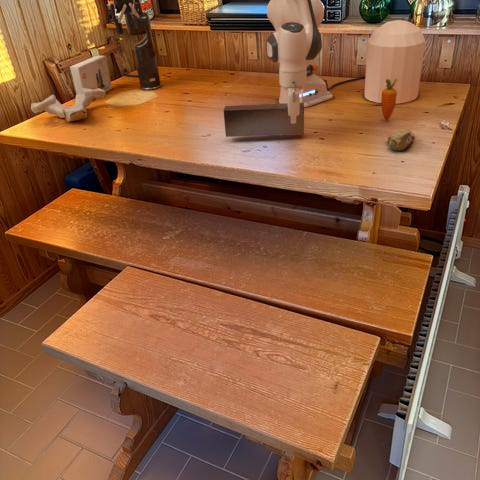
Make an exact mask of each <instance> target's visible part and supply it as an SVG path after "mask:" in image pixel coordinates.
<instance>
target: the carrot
mask: <svg viewBox="0 0 480 480" xmlns="http://www.w3.org/2000/svg"><path fill="white" fill-rule="evenodd" d="M396 81H397V79H395V80H394V82H393V84H391V82H390V79H386V83H387V85H386V87H387V88H386V89H384V90H383V91H382V98H381V103H380V104H381V112H382V113H381V114H382V117H383V119H384V120H385V121H386V122H388V121H389V119H390V118H391V117H392V114H393V112H394V109H395V106H396V104H395V102H396V95H397V91H396V90H395V89H394V88H393V86H394V84H395V83H396ZM389 85H390V86H389ZM391 85H392V86H391Z"/></svg>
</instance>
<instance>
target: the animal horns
mask: <svg viewBox="0 0 480 480" xmlns="http://www.w3.org/2000/svg"><path fill="white" fill-rule="evenodd" d="M81 91H82V94H79V95H77V94H76V95H75V103H74V104H73V105H69V106H65V105H63V104H62V103H61V102H60V101H59V100H58V99H57V98H56V97H57V96H56V95H55V94H51V95H49V96H48V97H47V98H45V99H43V100H42V101H39V102H31V105H30V110H31V112H32V113H34V114H37V113H42V112H43V111H44V112H47V113H48V114H50V115H56V116H58V117H59V118H60V119H63V118H64V119H65V120H66V121H67V122H68V123H70V122H76V121H80V120H83V119H86V118H87V117H88V112H87V108H88V107H89V106H90V105H91V103H92V101H93V100H95V99H103V98H105V97H106V95H107V92H105V90H102V89H99V88H98V89H95V90H94V89H87V88H82V90H81Z"/></svg>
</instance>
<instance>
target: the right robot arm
mask: <svg viewBox="0 0 480 480" xmlns="http://www.w3.org/2000/svg"><path fill="white" fill-rule="evenodd" d="M324 16H325V8H324V4H323V3H322V2H321V1H320V0H269V2H268V4H267V6H266V17H267V19H268V20H269V21H268V22H270V23H271V25H272V26H273V29H274V30H275V32H271V33H270V34H269V35H268V37H267V39H266V40H265V53H266V57H267V58H268V59H269V60H270V61H271V62H272V63H274V64H279V67H278V74H279V75H278V83H279V86H280V93H279V98H278V100H277V101H278V104H284V103H288V115H289V116H291V124H295V123H296V116H298V115H299V114H300V103H304V108H308V107H311V106H314V105H317V104H320V103H323V102H325V101H328V100H331V99H333V97H334V96H333V94H332V93H331V92H330V90H332V89H333V88H334V87H336V86H338V85H341V84H344V83H349V82H352V81H353V82H354V81H358V80H362V79H363V80H364V79H365V76H360V77H356V78H351V79H347V80H342V81H339V82H336V83H334V84H332V85H331V86H330V87H329V84H328V80H327V79H323V78H320V77H319V76H318V75H317V74H315V73H314V72H318V70H319V66H317V65H315V64H311V63H310V61H313V60H314V59H315V58H317V57H318V56H319V54H320V53H321V51H322V48H323V40H322V35H321V33H320V30H319V27H320V25H321V24H322V22H323V20H324Z"/></svg>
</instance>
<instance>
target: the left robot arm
mask: <svg viewBox="0 0 480 480" xmlns="http://www.w3.org/2000/svg"><path fill="white" fill-rule="evenodd" d="M106 9H107V10H106V11H107V14H108V19H109V22H110V23H114V26H115V29H116V30H115V31H116V32H117V34H118V35H124V30H123V23H122V20H123V19H122V18H124V21H125V27H126V29H127V33H128V35H129V36H131V37H135V36H144V37H143V38H142V39H141V40H140V41H138V42H136V43H135V44H134V45H133V50H134V54H135V59H136V64H137V67H136V71H137V72H136V73H137V74H130V73H126V72H127V68H123V69H122V75H123V76H126V77H132V78H138V82H139V87H140V89H142V90H145V91H151V90H152V91H153V90H157V89H159V88H161V87H162V84H161V78H160V73H159V72H160V71H159V67H158V66H159V65H158V62H157V61H158V60H157V55H156V50H155V45H154V39H153V34H152V25H151V18H150V16H149V13H148V12H147V11H143V10H142V9H143V8H142V5H141V1H140V0H113V2H112V3H106Z"/></svg>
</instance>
